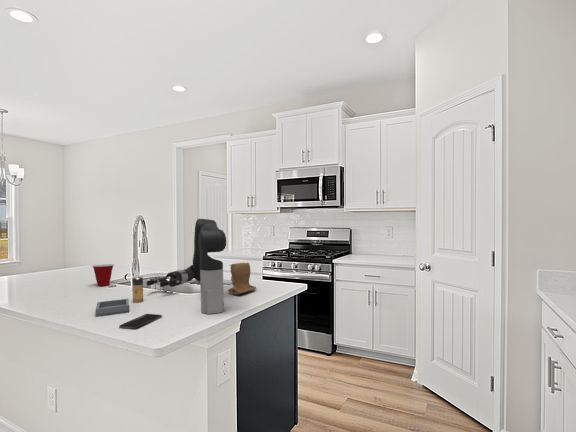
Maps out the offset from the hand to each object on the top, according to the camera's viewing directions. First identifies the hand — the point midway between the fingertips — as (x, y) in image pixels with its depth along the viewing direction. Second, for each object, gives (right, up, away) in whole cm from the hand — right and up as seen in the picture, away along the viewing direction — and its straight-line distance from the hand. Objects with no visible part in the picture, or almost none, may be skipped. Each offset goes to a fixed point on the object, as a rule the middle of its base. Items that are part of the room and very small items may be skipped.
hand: (153, 284), depth 168 cm
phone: (+10, -7, -39) cm, 41 cm away
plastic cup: (-38, -6, +27) cm, 47 cm away
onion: (+37, -5, +26) cm, 46 cm away
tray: (-8, -7, -23) cm, 25 cm away
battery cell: (-4, -6, -9) cm, 11 cm away
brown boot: (+41, -5, +6) cm, 42 cm away
